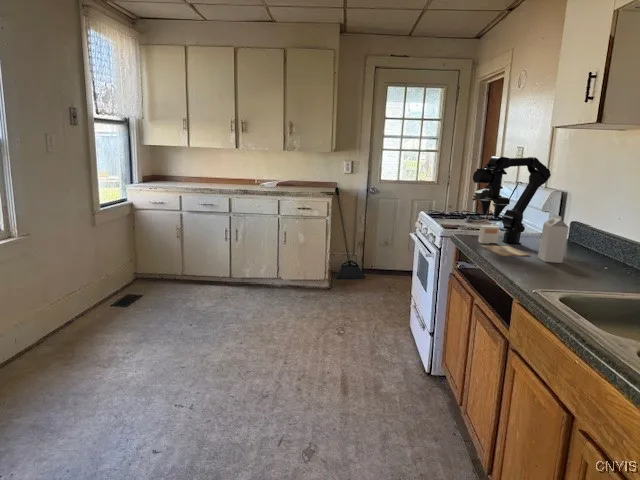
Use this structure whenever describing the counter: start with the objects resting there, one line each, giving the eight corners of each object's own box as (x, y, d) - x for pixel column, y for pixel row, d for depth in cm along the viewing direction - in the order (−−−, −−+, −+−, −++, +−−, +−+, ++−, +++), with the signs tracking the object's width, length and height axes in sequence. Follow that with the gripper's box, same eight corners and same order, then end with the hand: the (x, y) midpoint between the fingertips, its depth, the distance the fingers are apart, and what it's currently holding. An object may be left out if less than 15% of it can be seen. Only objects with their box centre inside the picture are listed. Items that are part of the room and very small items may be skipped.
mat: (509, 247, 201) (509, 246, 201) (530, 256, 186) (530, 255, 186) (481, 246, 199) (481, 245, 199) (499, 255, 184) (499, 254, 184)
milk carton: (554, 259, 184) (562, 214, 180) (562, 263, 177) (570, 217, 173) (537, 257, 185) (545, 213, 180) (544, 262, 178) (552, 216, 173)
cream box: (493, 242, 211) (495, 226, 210) (497, 243, 208) (499, 227, 206) (478, 241, 210) (480, 225, 209) (481, 243, 207) (484, 226, 205)
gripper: (468, 181, 209) (464, 213, 212) (490, 185, 191) (485, 220, 195) (489, 182, 211) (484, 213, 215) (512, 186, 193) (507, 220, 197)
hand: (489, 216), depth 205 cm, fingers open, 9 cm apart
